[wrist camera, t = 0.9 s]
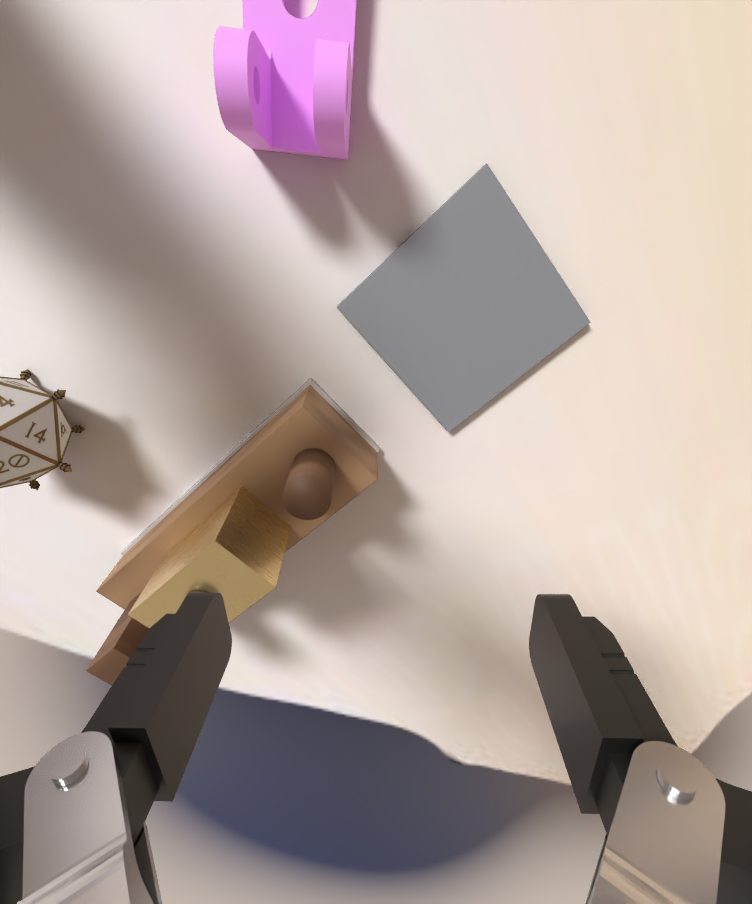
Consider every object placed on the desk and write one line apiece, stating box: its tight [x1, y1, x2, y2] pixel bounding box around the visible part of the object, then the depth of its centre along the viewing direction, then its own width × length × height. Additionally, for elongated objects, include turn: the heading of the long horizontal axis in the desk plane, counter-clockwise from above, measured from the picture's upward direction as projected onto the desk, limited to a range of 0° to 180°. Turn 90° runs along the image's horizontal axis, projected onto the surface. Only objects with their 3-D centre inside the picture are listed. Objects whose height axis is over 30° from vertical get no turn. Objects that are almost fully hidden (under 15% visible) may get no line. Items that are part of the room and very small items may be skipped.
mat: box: [337, 164, 590, 432], centre depth 30 cm, size 12×12×1 cm
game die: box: [0, 369, 85, 490], centre depth 29 cm, size 9×8×10 cm
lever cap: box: [128, 486, 291, 628], centre depth 29 cm, size 4×8×7 cm, turn 132°
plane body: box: [86, 378, 380, 685], centre depth 31 cm, size 7×22×11 cm, turn 132°
